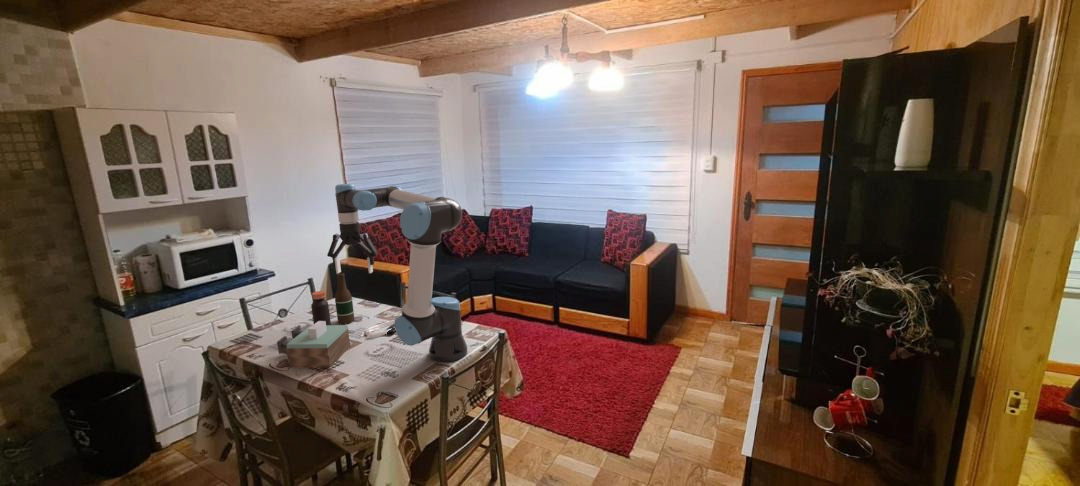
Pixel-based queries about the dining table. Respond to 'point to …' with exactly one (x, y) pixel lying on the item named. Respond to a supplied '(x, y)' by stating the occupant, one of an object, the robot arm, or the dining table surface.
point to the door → (316, 336)
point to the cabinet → (314, 352)
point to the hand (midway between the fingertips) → (354, 272)
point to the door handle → (373, 334)
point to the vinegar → (320, 308)
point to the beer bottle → (343, 302)
